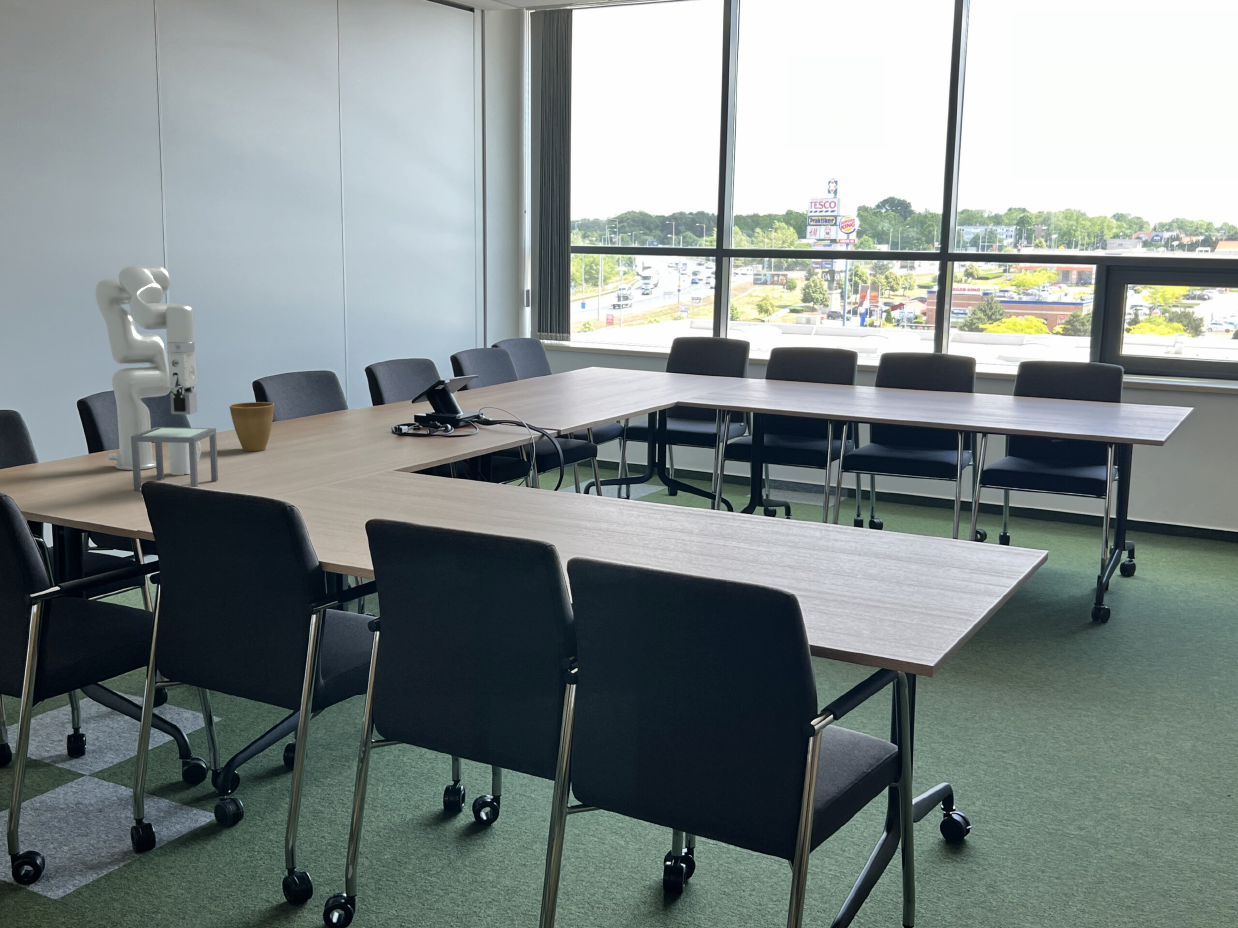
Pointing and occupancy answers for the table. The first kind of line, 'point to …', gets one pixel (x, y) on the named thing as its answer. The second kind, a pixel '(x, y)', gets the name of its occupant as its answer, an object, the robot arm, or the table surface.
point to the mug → (180, 457)
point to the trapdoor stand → (159, 439)
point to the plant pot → (252, 424)
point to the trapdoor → (175, 432)
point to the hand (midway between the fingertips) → (184, 409)
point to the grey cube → (186, 403)
